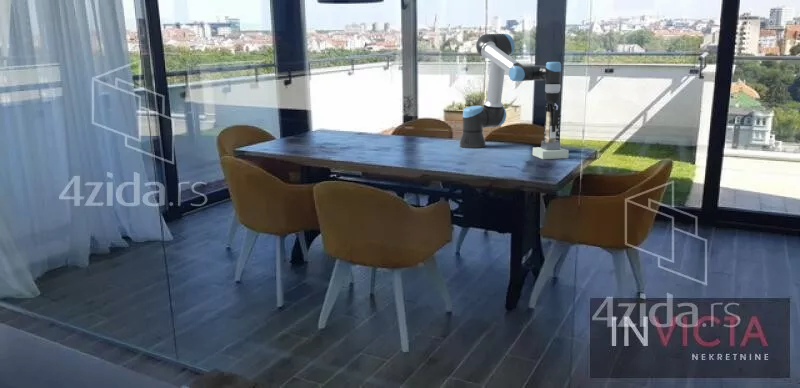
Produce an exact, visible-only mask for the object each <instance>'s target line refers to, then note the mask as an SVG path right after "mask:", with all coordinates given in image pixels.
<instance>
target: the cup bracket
mask: <svg viewBox="0 0 800 388" xmlns="http://www.w3.org/2000/svg"><path fill="white" fill-rule="evenodd" d="M540 147H541V148H542V149H544V150H560V148H561V141H560V142H558V141H556V142H545V141H544V140H541V141H540Z"/></svg>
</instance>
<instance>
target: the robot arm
mask: <svg viewBox="0 0 800 388" xmlns="http://www.w3.org/2000/svg"><path fill="white" fill-rule="evenodd" d="M475 47H476V50H477V53H478V54H479V55H480V56H481V57H482V58H484V59H489V60H490V62H489V63H490V64H489V74H488V84H487V93H486V101H484V102H483V105H471V106H467V107H464V108H463V109H462V135H461V137H460V140H459V147H460V148H465V149H467V148H468V149H479V148H485V147H486V139H485V137H484V132H483V129H484V128H496V127H499V126H502V125H504V124H505V121H506V119H507V112H506V109H505V107H504V104H503V103H502V96H503V87H504V80H505V72H506V73H507V74H508V77H509V79H510V81H513V82H527V81H545V86H544V92H545V94H544V100H545V101H547V103H545V104H544V124H545V123H546V114H547V112H551V125H550V138H555V135H556V125H558V117H559V115H560V107H561V106H560V105H558V101H560V99H561V93H560V92H561V79H562V78H561V76H562V75H561V74H562V64H561V62H560V61H547V62H546V63H545V65H541V64H539V65H523V64H521V63H520V62H518V61H517V60H515V59H514V58H513V57H511V55H512V54H514V51H515V41H514V39H513V37H512V36H511V35H510V34H508V33H484V34H482V35H481V36H480V37H479V38H478V39H477V41H476V44H475Z"/></svg>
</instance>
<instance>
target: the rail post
mask: <svg viewBox="0 0 800 388" xmlns="http://www.w3.org/2000/svg"><path fill="white" fill-rule="evenodd" d="M550 125H551V112H547V114H546V141H545V142H556V135H555V138H550Z"/></svg>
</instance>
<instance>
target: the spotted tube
mask: <svg viewBox="0 0 800 388" xmlns="http://www.w3.org/2000/svg"><path fill="white" fill-rule="evenodd" d="M561 117H562V115H561V114H559V117H558V125H556V141H558V142H560V143H561V141H560V139H561V137H560V136H561ZM543 134H544V138H543V141H546V123H545V122H544V133H543Z"/></svg>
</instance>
